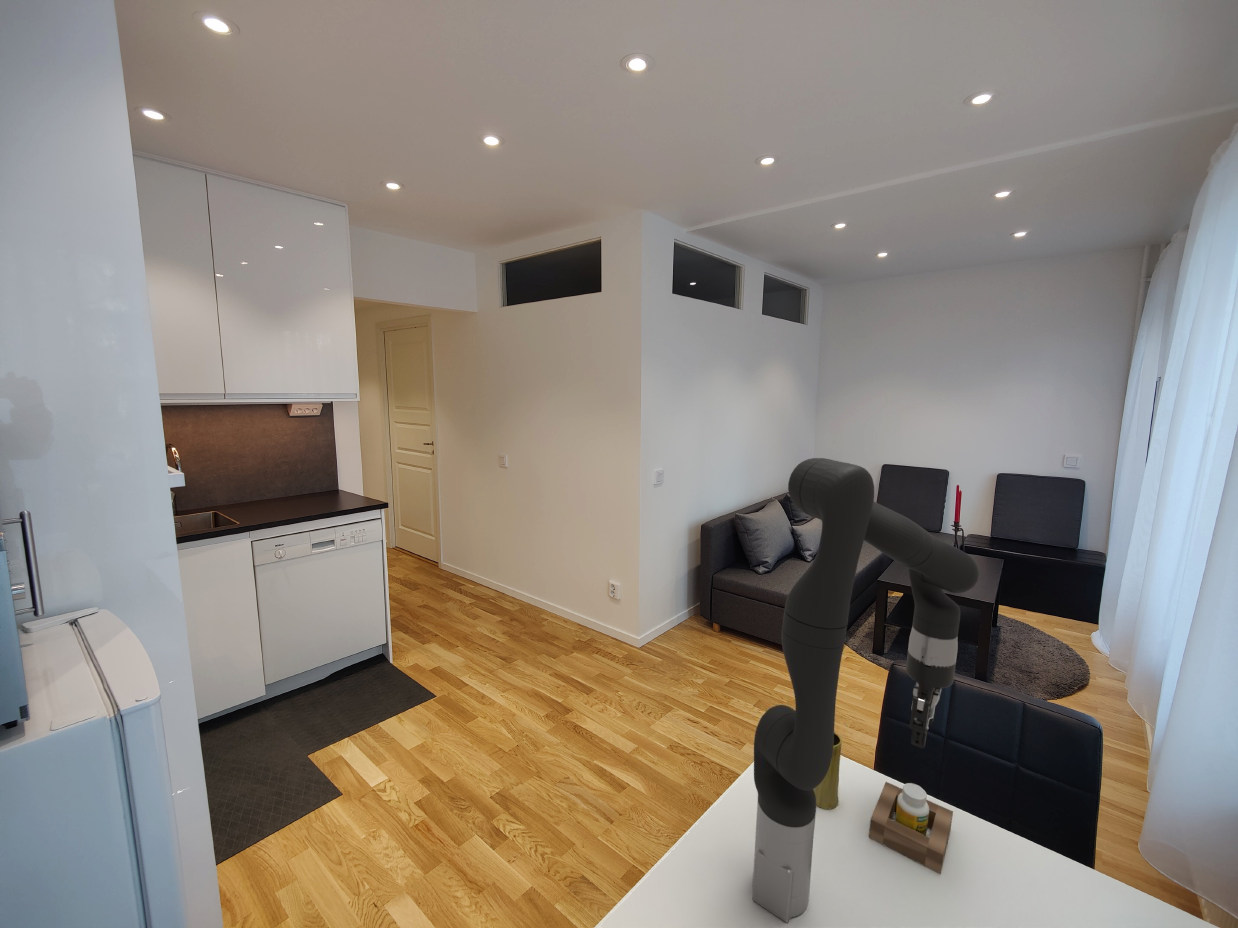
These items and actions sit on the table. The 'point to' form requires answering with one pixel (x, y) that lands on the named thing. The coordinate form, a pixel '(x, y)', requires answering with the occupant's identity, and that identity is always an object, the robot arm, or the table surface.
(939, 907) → the table surface
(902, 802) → the supplement bottle
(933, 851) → the socket block
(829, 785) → the vase
